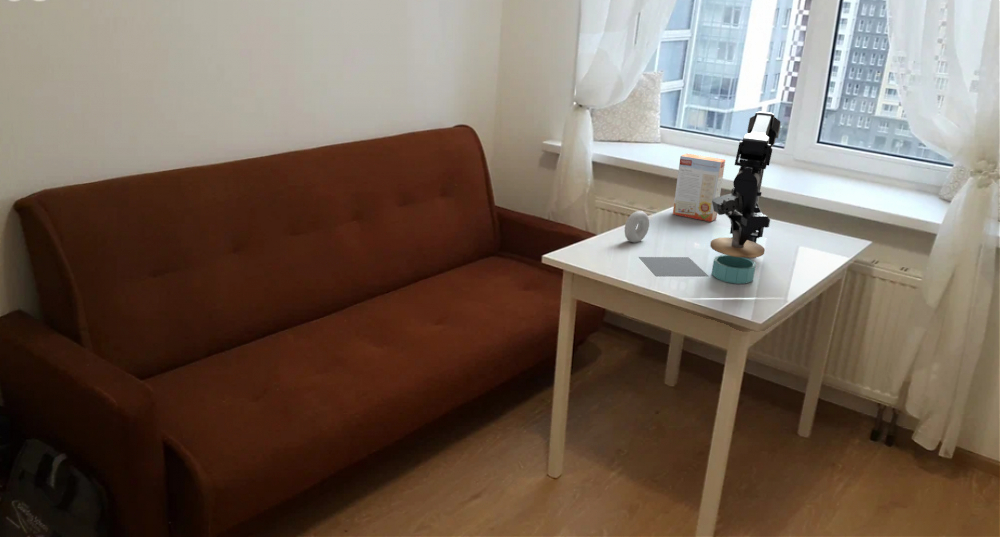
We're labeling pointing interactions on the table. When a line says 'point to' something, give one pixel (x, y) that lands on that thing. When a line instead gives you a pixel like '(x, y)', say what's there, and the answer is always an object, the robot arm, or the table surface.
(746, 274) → the bowl
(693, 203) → the cracker box
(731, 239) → the lid
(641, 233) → the donut
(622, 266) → the table surface
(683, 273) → the mat
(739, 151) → the robot arm
